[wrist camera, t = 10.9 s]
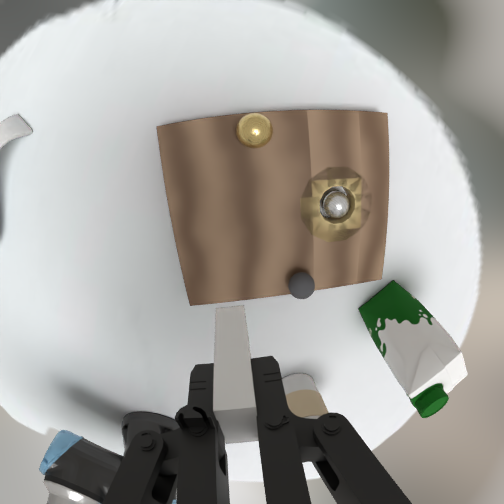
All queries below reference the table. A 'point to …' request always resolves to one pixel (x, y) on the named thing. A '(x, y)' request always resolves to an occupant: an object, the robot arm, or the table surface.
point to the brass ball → (254, 130)
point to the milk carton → (414, 347)
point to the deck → (276, 202)
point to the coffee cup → (303, 396)
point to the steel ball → (336, 204)
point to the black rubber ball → (301, 285)
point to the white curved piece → (13, 129)
